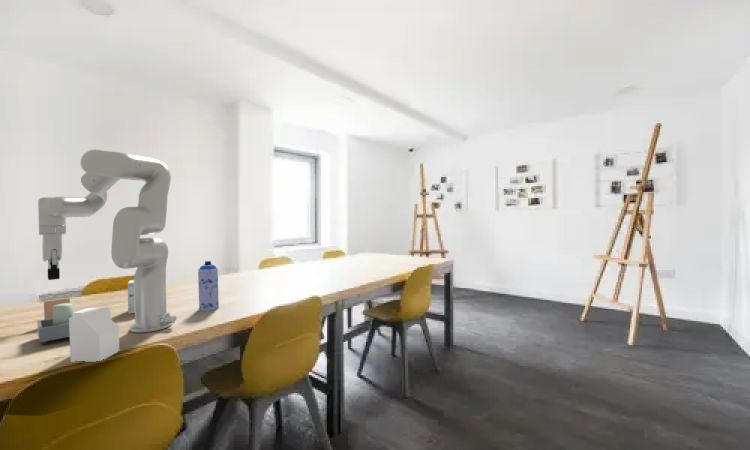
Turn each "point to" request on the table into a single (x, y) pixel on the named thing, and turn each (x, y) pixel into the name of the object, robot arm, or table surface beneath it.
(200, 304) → the aerosol can
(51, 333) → the grey desk organizer
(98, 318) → the white angular block
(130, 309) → the supplement box
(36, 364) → the table surface
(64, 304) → the part
